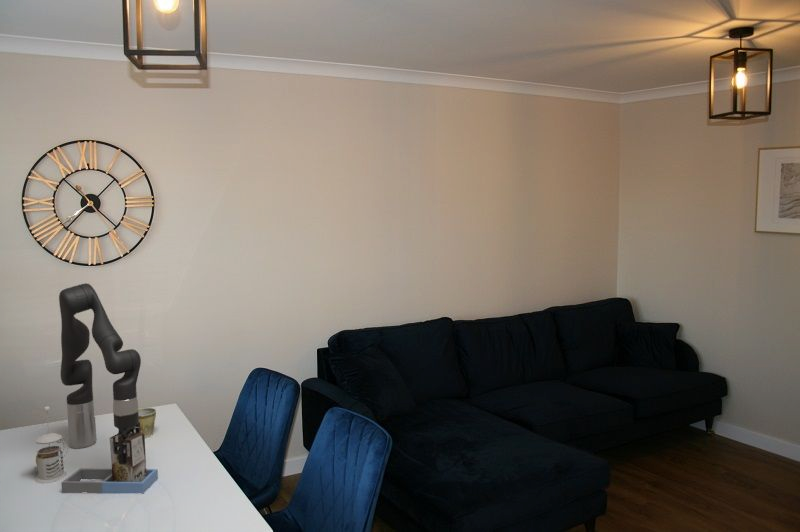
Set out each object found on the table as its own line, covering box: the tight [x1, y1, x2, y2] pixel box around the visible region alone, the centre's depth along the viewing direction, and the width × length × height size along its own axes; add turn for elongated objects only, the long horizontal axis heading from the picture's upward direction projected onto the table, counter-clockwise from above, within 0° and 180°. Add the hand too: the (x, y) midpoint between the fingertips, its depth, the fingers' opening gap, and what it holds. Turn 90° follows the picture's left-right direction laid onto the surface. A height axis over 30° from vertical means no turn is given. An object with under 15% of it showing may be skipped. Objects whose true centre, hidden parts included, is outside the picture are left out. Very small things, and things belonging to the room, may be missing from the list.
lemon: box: [35, 452, 52, 467], centre depth 223 cm, size 6×6×8 cm
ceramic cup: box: [138, 407, 157, 439], centre depth 257 cm, size 13×10×10 cm
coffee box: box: [109, 433, 147, 482], centre depth 209 cm, size 9×6×16 cm
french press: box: [34, 405, 69, 484], centre depth 217 cm, size 10×12×25 cm
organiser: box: [60, 467, 159, 495], centre depth 210 cm, size 11×27×4 cm, turn 87°
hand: (128, 459), depth 209 cm, fingers closed on coffee box, 7 cm apart
